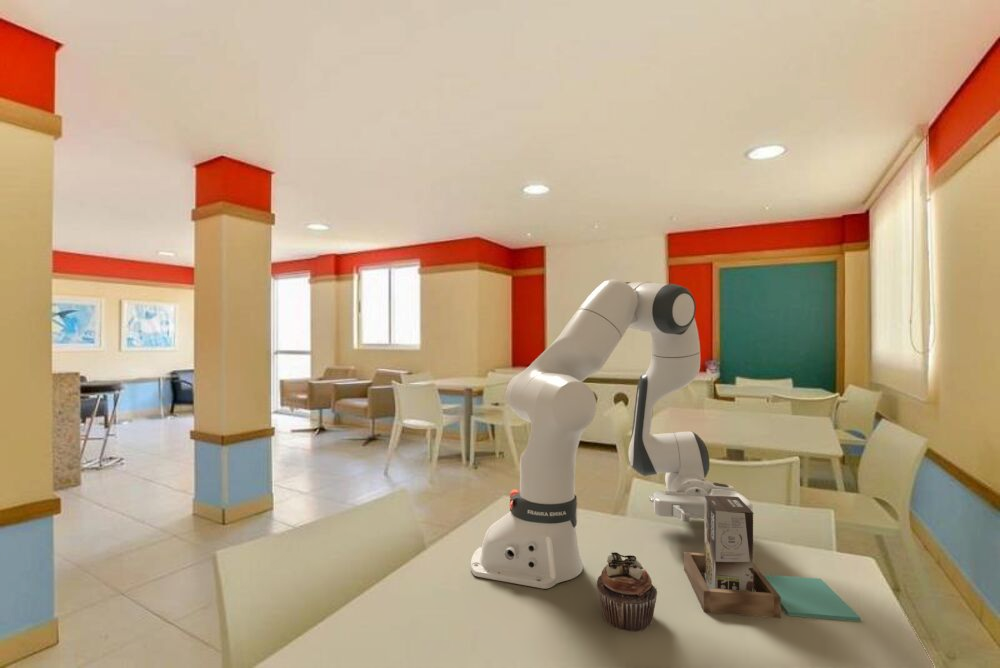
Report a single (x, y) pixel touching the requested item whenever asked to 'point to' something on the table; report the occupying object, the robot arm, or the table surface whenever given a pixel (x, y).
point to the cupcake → (626, 593)
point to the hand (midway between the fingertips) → (710, 519)
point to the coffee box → (728, 543)
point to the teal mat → (810, 598)
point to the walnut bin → (732, 592)
